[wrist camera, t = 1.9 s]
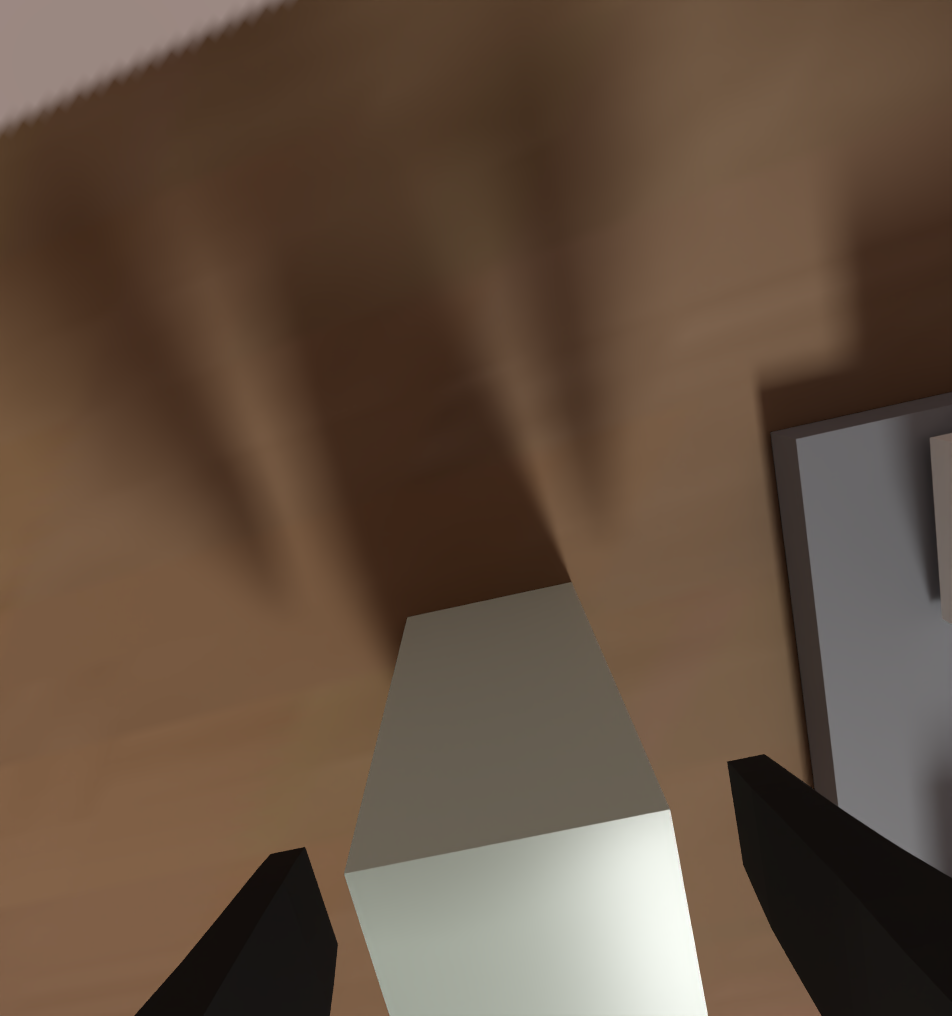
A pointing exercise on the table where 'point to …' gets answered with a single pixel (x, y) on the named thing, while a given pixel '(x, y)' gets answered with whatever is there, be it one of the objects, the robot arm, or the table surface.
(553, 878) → the block
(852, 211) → the table surface
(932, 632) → the rail board
